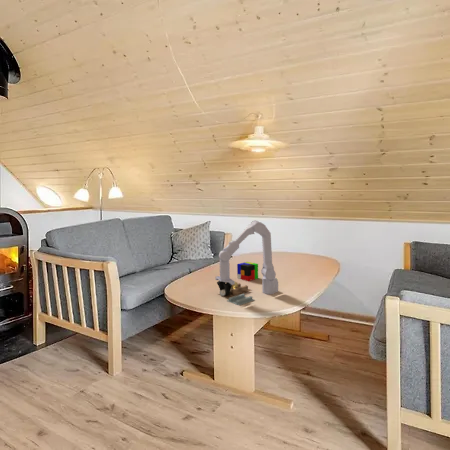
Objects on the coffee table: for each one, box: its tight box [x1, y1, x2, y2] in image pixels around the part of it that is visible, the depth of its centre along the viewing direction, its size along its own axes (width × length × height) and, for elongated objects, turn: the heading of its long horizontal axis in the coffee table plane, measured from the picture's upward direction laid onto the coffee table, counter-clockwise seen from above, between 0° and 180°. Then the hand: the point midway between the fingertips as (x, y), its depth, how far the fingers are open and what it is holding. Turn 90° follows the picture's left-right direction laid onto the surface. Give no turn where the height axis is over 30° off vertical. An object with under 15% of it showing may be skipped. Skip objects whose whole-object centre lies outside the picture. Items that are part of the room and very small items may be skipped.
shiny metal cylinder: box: [219, 287, 233, 297], centre depth 215 cm, size 8×4×4 cm, turn 132°
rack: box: [226, 293, 255, 306], centre depth 205 cm, size 12×10×3 cm
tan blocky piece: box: [232, 281, 239, 289], centre depth 218 cm, size 3×4×6 cm
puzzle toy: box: [236, 261, 259, 282], centre depth 252 cm, size 10×10×10 cm
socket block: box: [217, 282, 253, 299], centre depth 219 cm, size 20×9×4 cm, turn 132°
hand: (225, 294), depth 214 cm, fingers closed on shiny metal cylinder, 4 cm apart
